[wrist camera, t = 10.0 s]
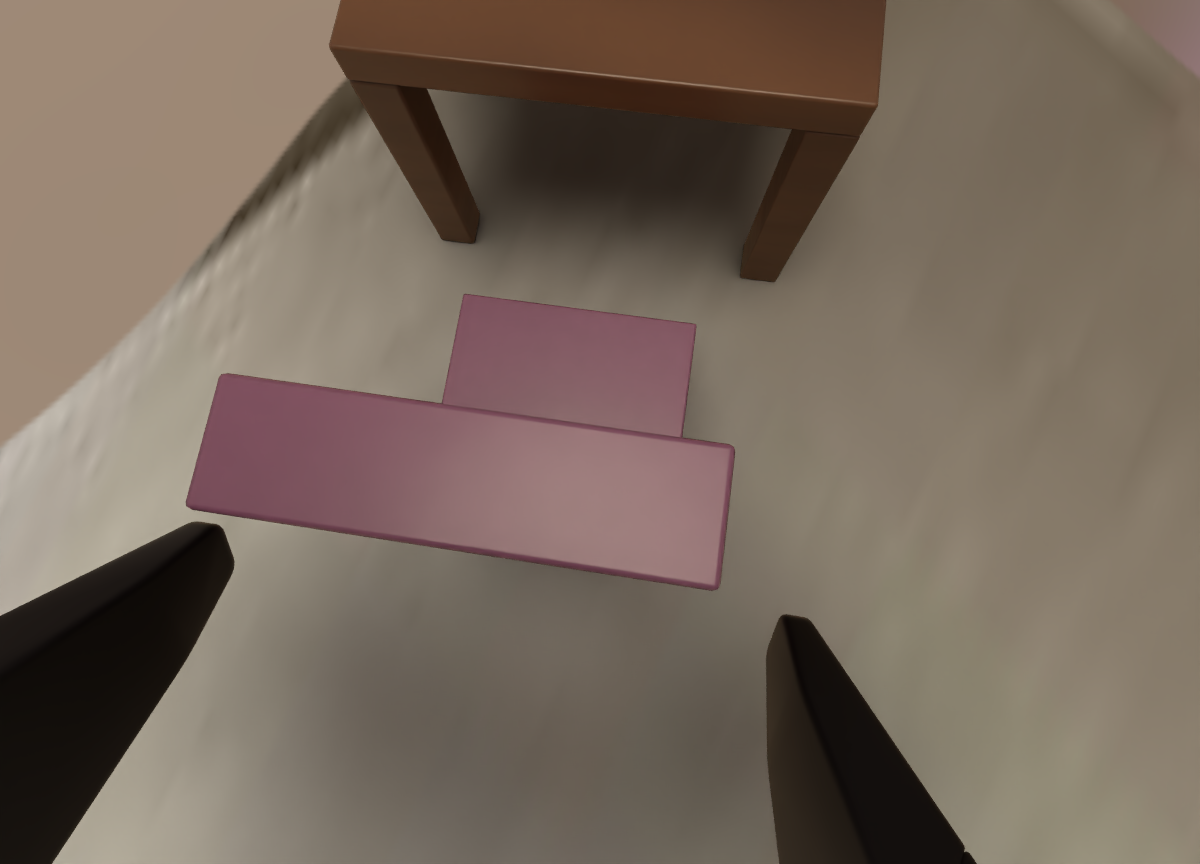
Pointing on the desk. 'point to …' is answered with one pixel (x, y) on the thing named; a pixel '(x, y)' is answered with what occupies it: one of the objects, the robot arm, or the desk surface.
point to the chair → (494, 450)
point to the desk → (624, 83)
